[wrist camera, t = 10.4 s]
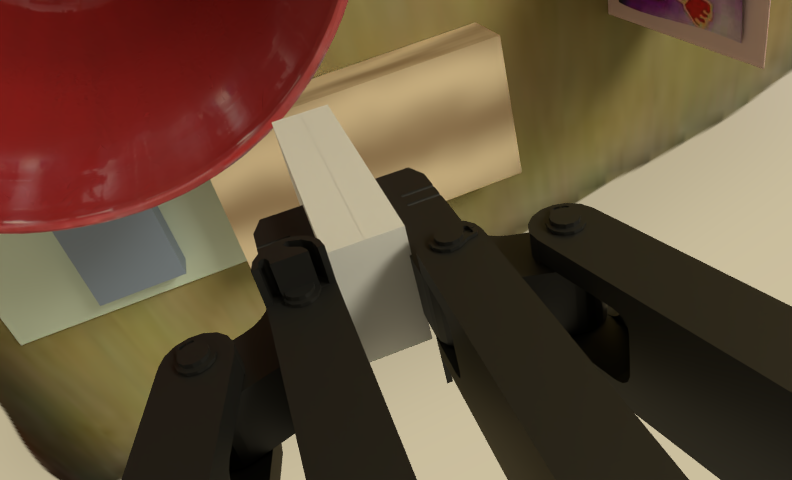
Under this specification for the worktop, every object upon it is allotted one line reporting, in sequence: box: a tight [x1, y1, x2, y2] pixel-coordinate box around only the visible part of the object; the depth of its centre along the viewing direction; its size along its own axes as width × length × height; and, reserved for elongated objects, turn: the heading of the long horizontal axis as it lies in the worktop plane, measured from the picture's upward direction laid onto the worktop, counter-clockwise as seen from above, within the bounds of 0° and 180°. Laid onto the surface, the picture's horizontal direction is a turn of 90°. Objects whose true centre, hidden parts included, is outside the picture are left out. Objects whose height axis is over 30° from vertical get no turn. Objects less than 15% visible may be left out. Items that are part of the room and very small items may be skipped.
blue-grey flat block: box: [52, 206, 186, 306], centre depth 44 cm, size 8×6×2 cm
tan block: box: [210, 22, 522, 268], centre depth 45 cm, size 10×20×4 cm, turn 105°
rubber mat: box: [0, 180, 247, 345], centre depth 45 cm, size 11×17×1 cm, turn 105°
